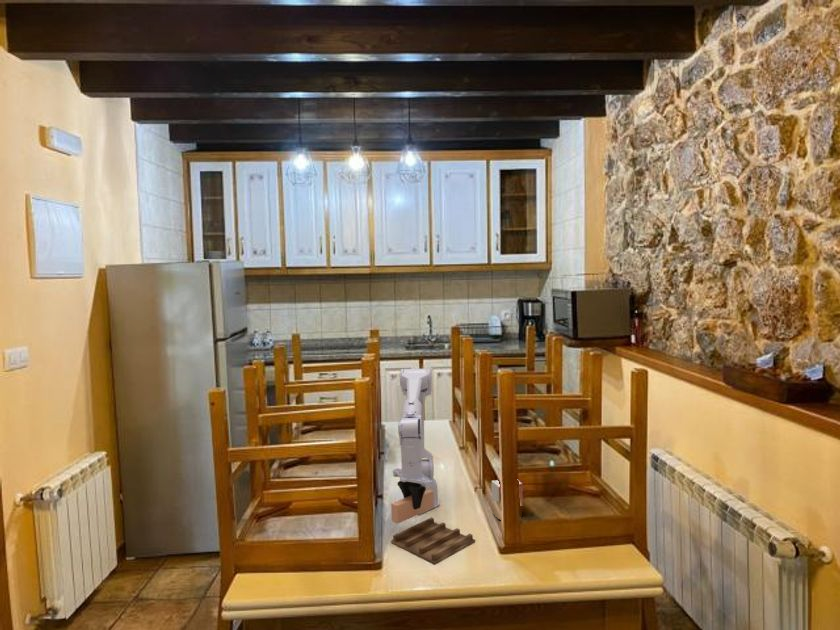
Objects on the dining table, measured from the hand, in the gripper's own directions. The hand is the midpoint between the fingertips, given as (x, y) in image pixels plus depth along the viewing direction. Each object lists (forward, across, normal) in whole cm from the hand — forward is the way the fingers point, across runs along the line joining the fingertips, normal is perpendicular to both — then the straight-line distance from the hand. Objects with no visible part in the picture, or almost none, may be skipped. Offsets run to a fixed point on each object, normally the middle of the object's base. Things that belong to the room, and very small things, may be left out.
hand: (413, 506), depth 160 cm
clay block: (+2, 0, 0) cm, 2 cm away
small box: (+9, +12, +28) cm, 31 cm away
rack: (+8, +7, +1) cm, 11 cm away
